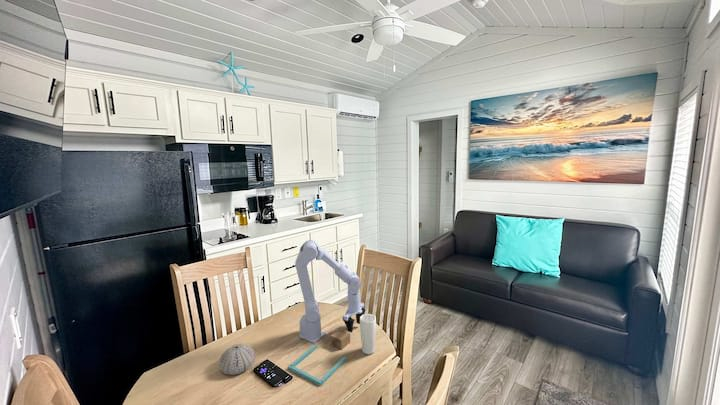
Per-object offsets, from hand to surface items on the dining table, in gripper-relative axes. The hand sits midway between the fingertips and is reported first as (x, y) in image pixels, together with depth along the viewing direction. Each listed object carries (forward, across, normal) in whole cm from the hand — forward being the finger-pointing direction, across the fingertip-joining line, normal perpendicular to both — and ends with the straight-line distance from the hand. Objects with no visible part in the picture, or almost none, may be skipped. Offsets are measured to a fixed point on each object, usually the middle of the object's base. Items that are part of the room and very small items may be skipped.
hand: (354, 327), depth 137 cm
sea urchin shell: (+2, -43, +27) cm, 51 cm away
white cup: (+2, -9, -13) cm, 16 cm away
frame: (+2, -26, 0) cm, 26 cm away
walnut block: (+2, -11, 0) cm, 11 cm away
